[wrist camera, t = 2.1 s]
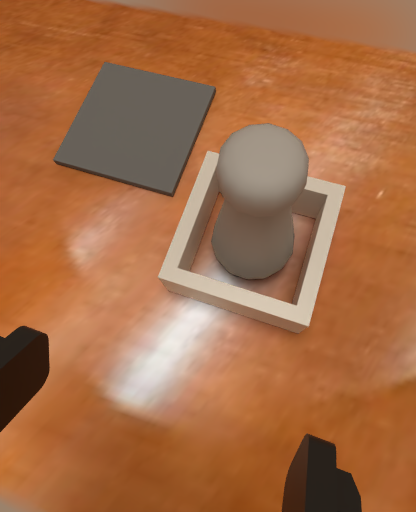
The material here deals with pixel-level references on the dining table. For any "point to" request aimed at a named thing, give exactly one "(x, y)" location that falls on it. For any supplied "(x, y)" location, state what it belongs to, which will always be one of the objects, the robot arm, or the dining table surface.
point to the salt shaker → (258, 199)
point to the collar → (237, 299)
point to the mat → (136, 128)
